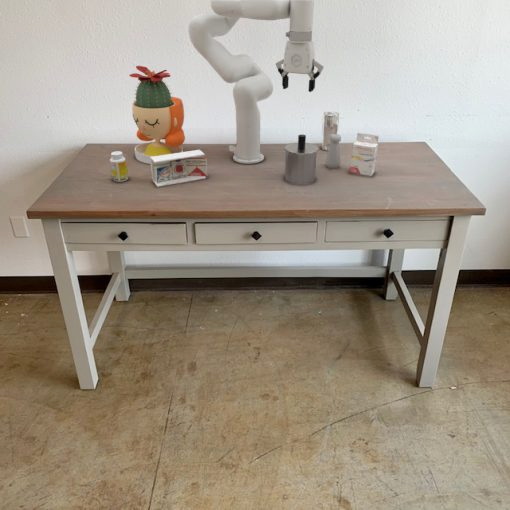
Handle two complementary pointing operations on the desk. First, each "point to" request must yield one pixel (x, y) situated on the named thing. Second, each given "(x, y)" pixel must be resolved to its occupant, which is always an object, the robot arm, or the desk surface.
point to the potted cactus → (157, 116)
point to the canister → (300, 168)
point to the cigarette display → (178, 167)
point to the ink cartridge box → (364, 154)
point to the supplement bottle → (118, 167)
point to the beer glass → (329, 127)
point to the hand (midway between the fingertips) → (298, 89)
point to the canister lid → (301, 147)
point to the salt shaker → (334, 152)
